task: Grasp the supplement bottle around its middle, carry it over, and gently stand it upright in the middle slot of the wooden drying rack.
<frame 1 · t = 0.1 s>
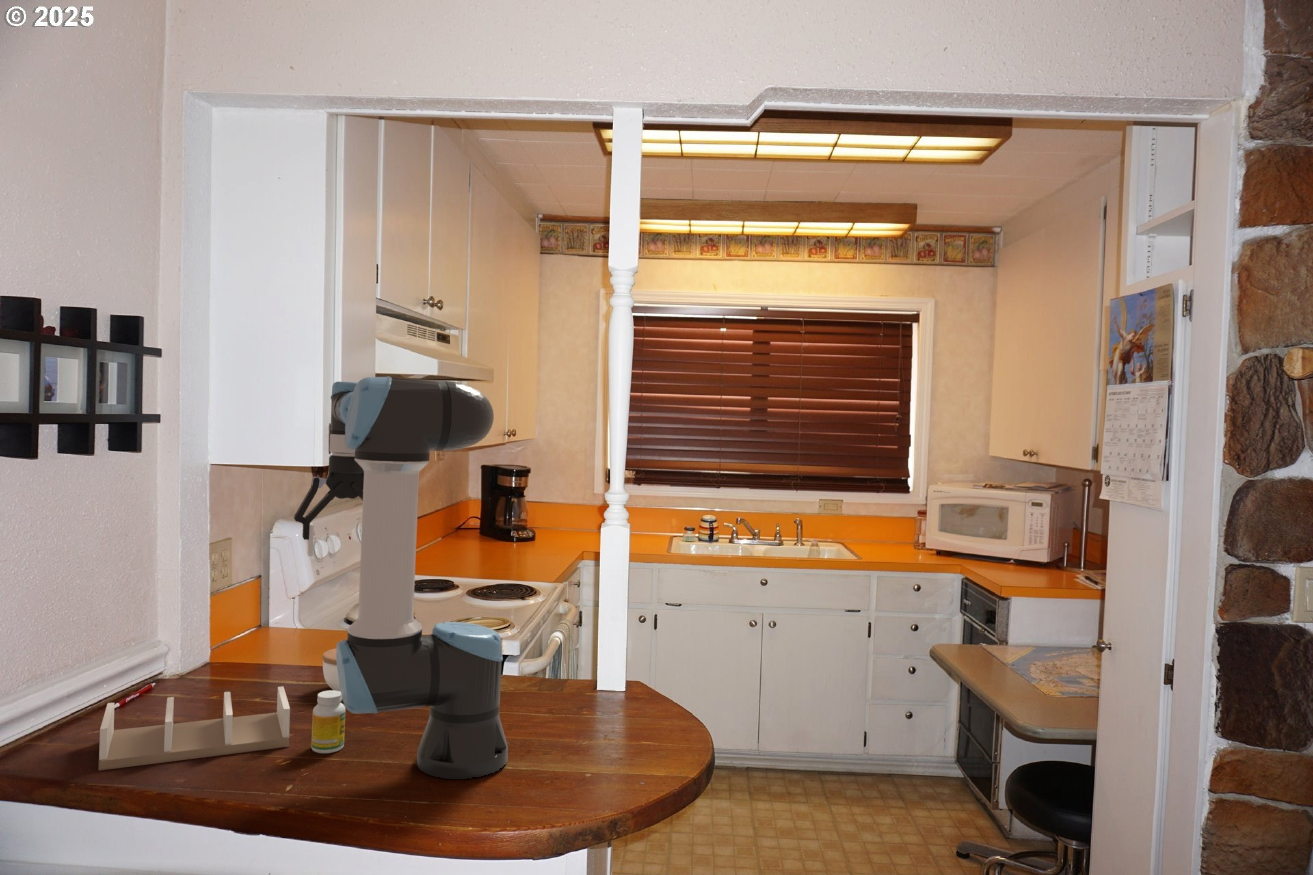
hand: (344, 554, 184), 28 cm above the breakfast bar, fingers open, 13 cm apart
lidded jar: (348, 690, 182), on the breakfast bar
supplement bottle: (327, 749, 151), on the breakfast bar
rack: (198, 742, 150), on the breakfast bar
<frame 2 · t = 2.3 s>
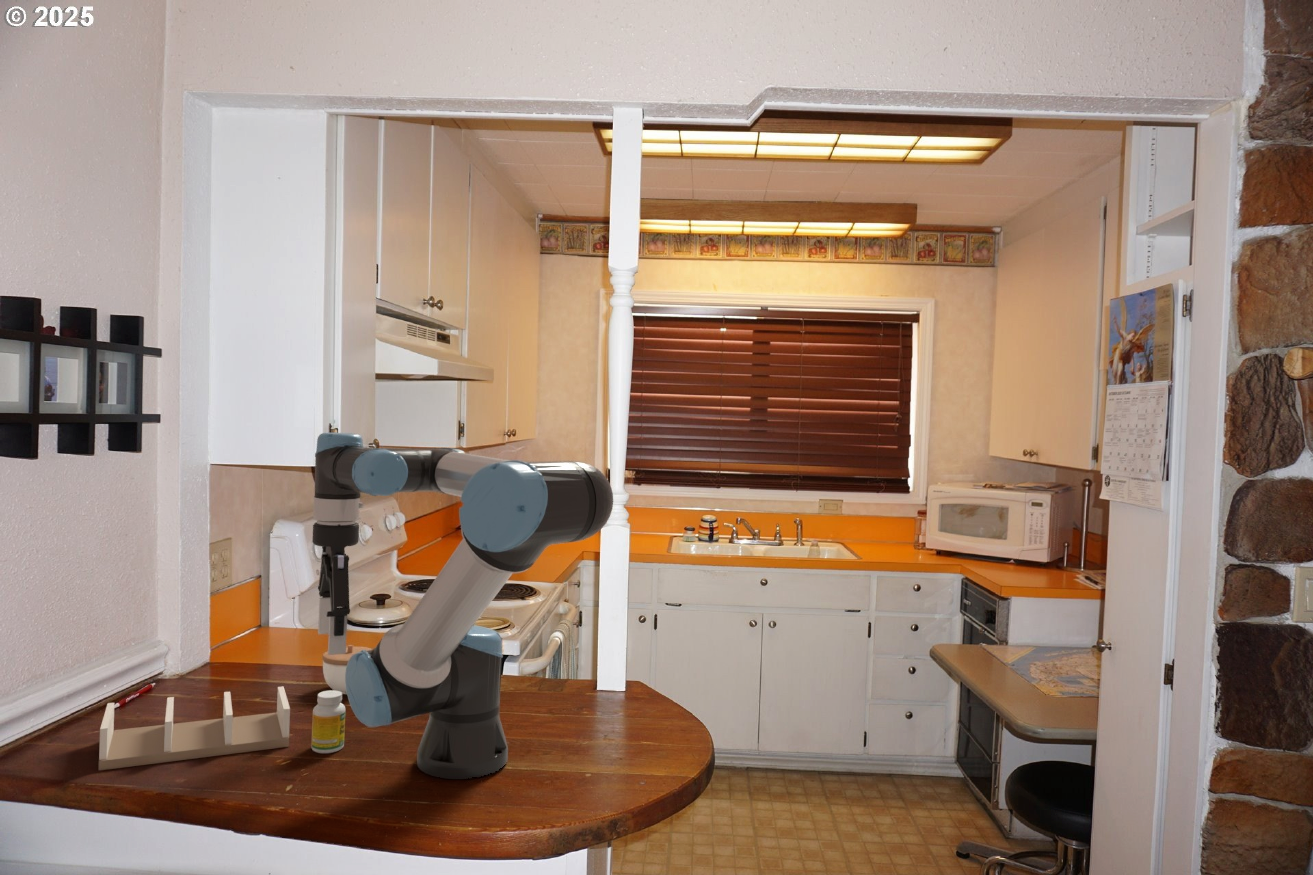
hand: (331, 643, 151), 18 cm above the breakfast bar, fingers open, 13 cm apart
nothing on the breakfast bar moved.
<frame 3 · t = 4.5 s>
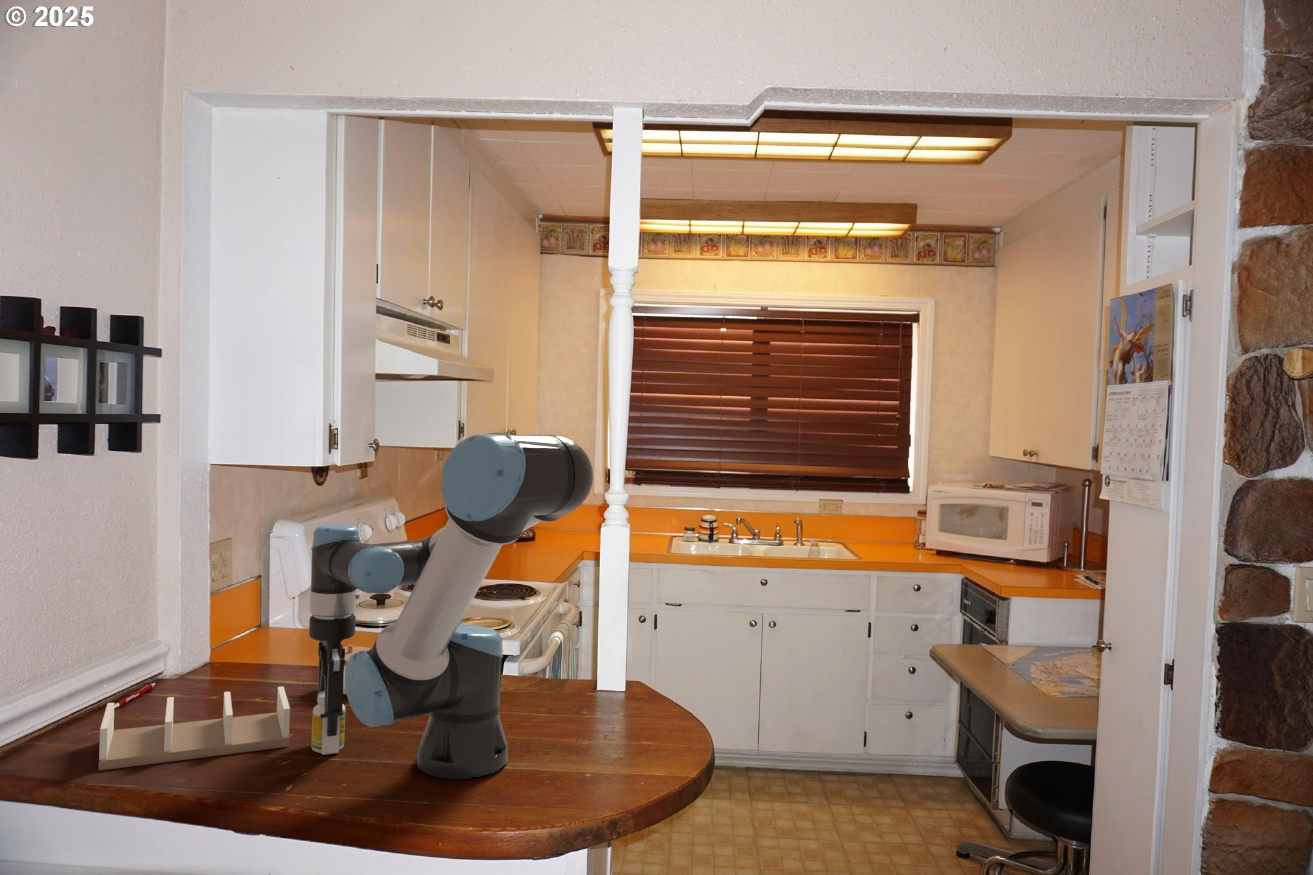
hand: (327, 746, 151), 0 cm above the breakfast bar, fingers closed on supplement bottle, 5 cm apart
supplement bottle: (327, 749, 151), on the breakfast bar, touching gripper
everything else where it was.
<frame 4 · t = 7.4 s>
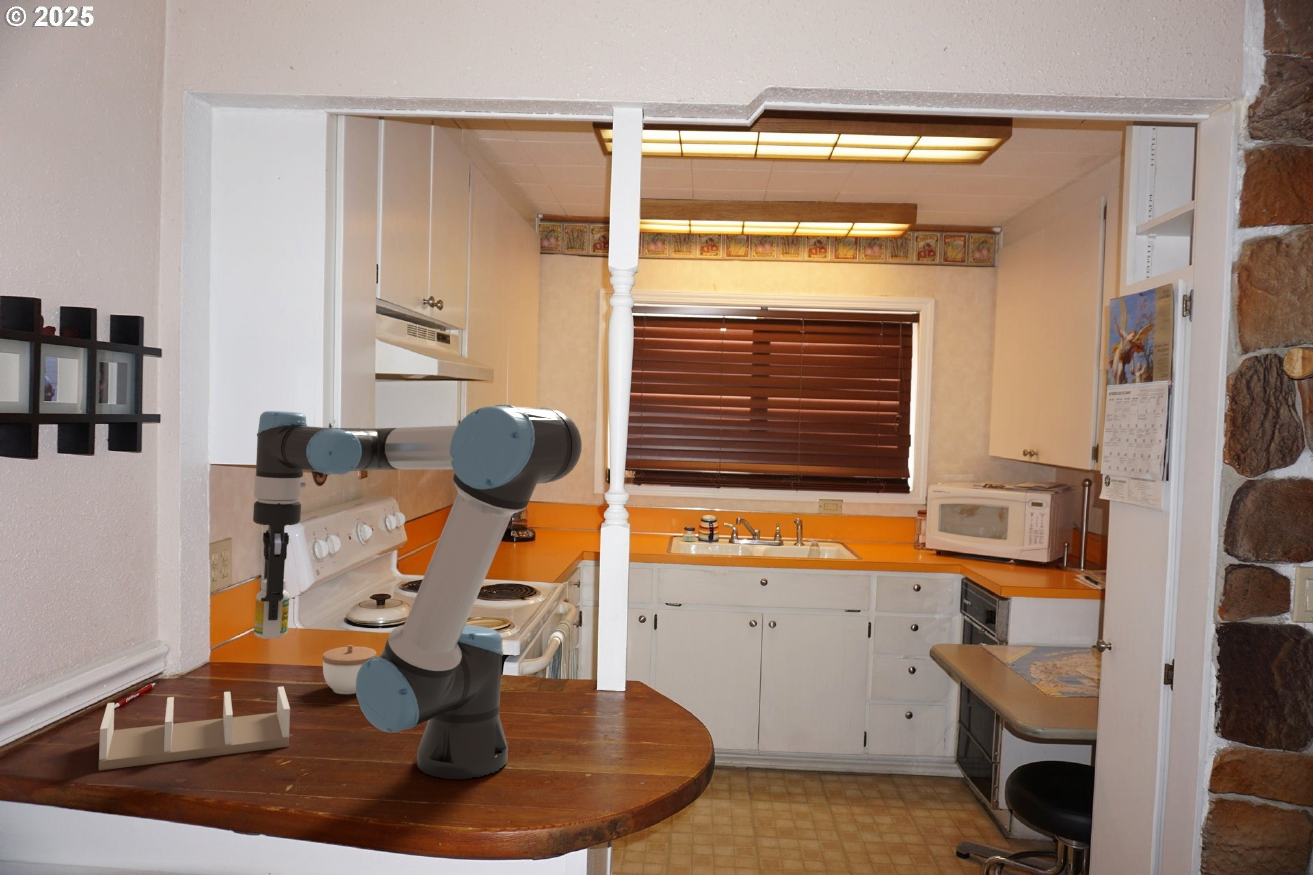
hand: (270, 632, 151), 20 cm above the breakfast bar, fingers closed on supplement bottle, 5 cm apart
supplement bottle: (270, 635, 151), point 19 cm above the breakfast bar, touching gripper
everything else where it was.
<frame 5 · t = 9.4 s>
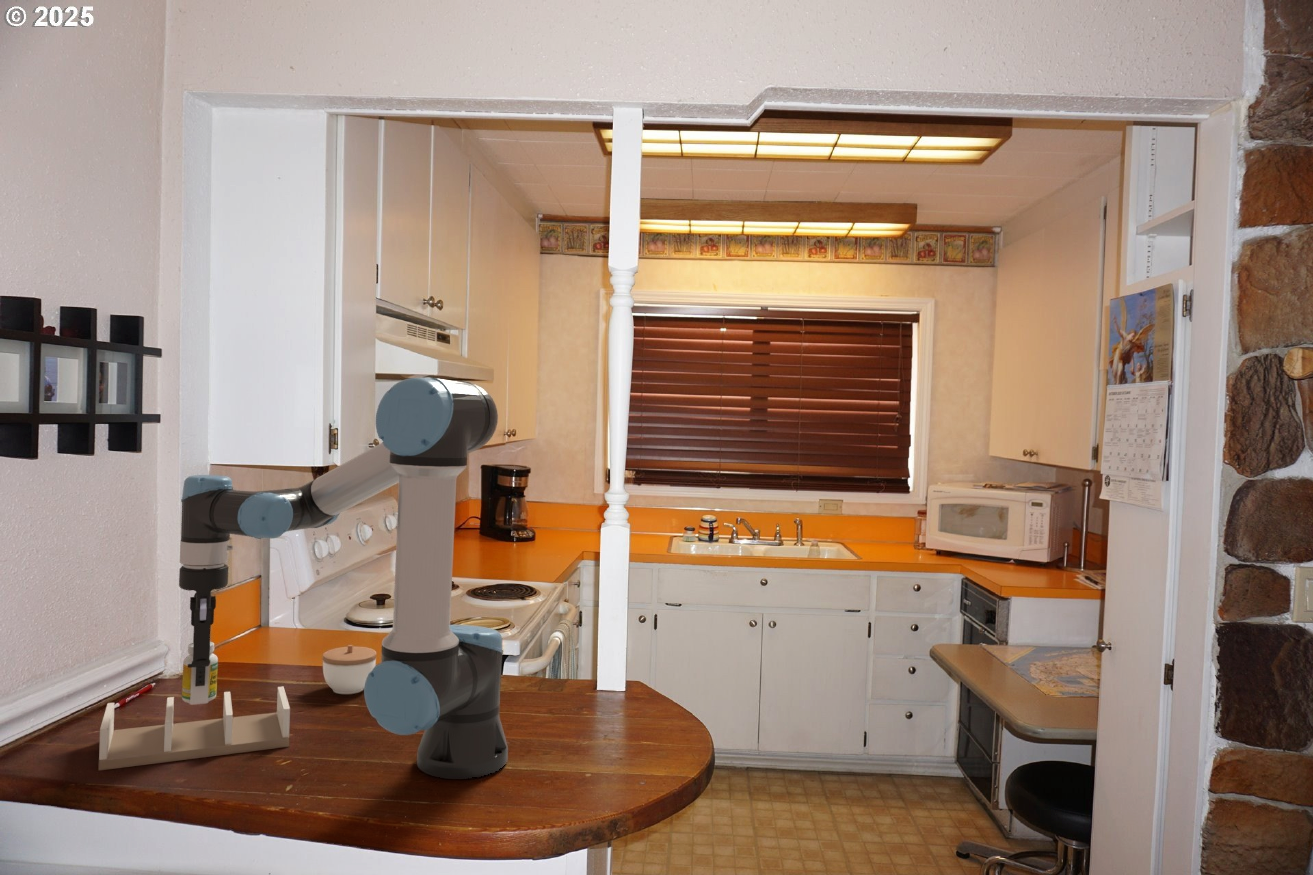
hand: (199, 697, 150), 8 cm above the breakfast bar, fingers closed on supplement bottle, 5 cm apart
supplement bottle: (199, 700, 150), point 8 cm above the breakfast bar, touching gripper
everything else where it was.
when the fingers open (3 cm above the breakfast bar, at t = 10.7 s): supplement bottle drops 1 cm, resting on rack.
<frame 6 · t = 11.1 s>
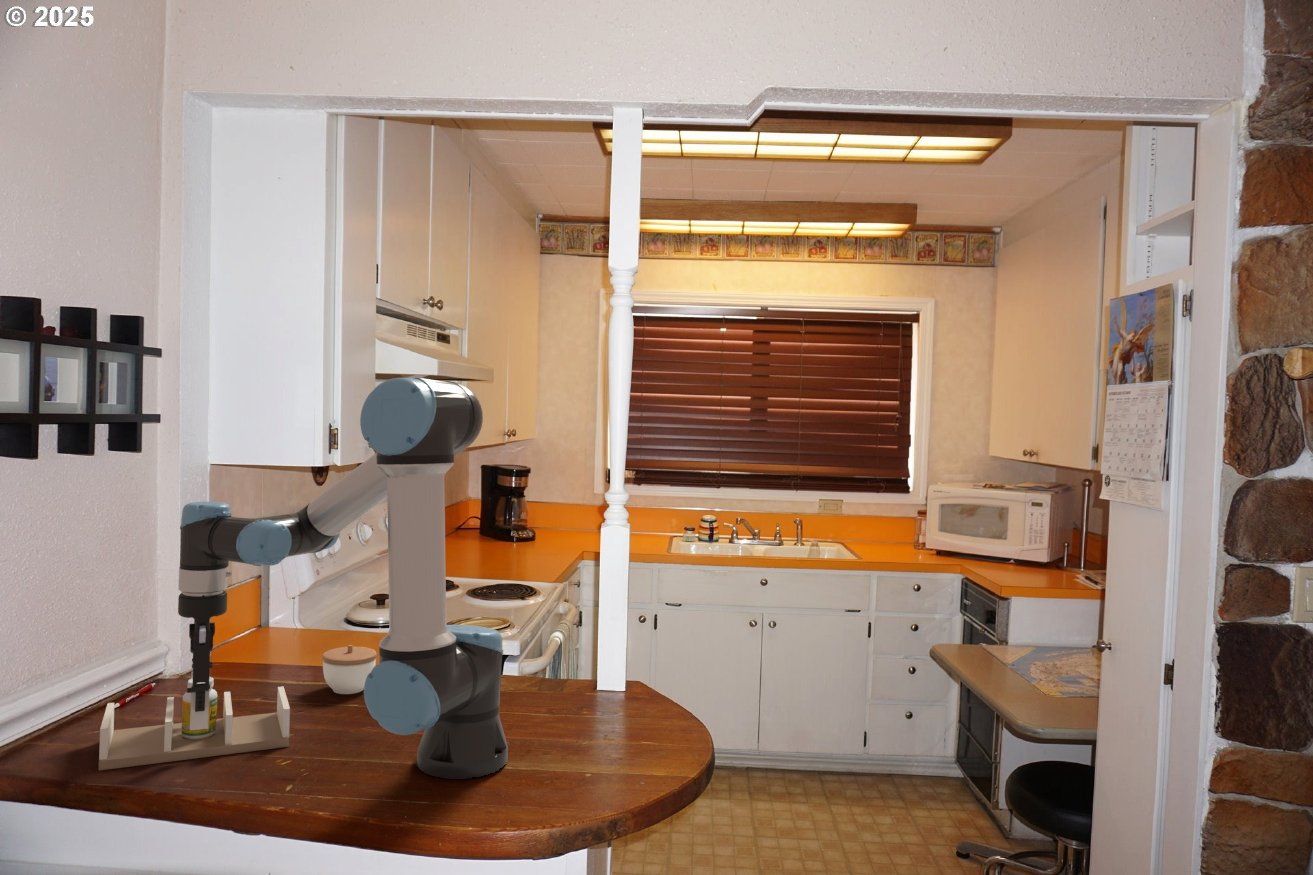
hand: (198, 717, 150), 4 cm above the breakfast bar, fingers open, 11 cm apart
supplement bottle: (198, 735, 150), point 1 cm above the breakfast bar, touching rack
everything else where it was.
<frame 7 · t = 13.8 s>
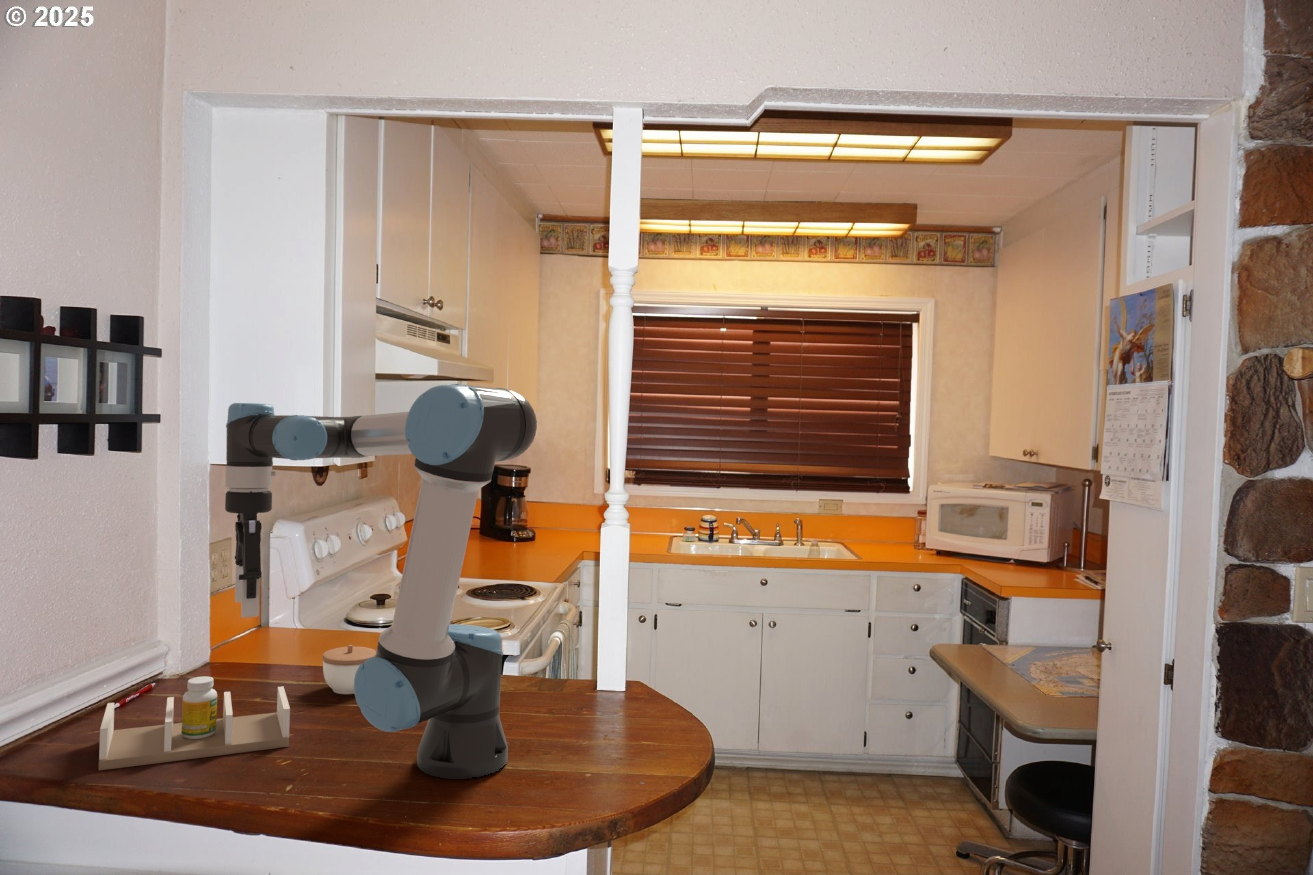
hand: (246, 608, 154), 23 cm above the breakfast bar, fingers open, 13 cm apart
nothing on the breakfast bar moved.
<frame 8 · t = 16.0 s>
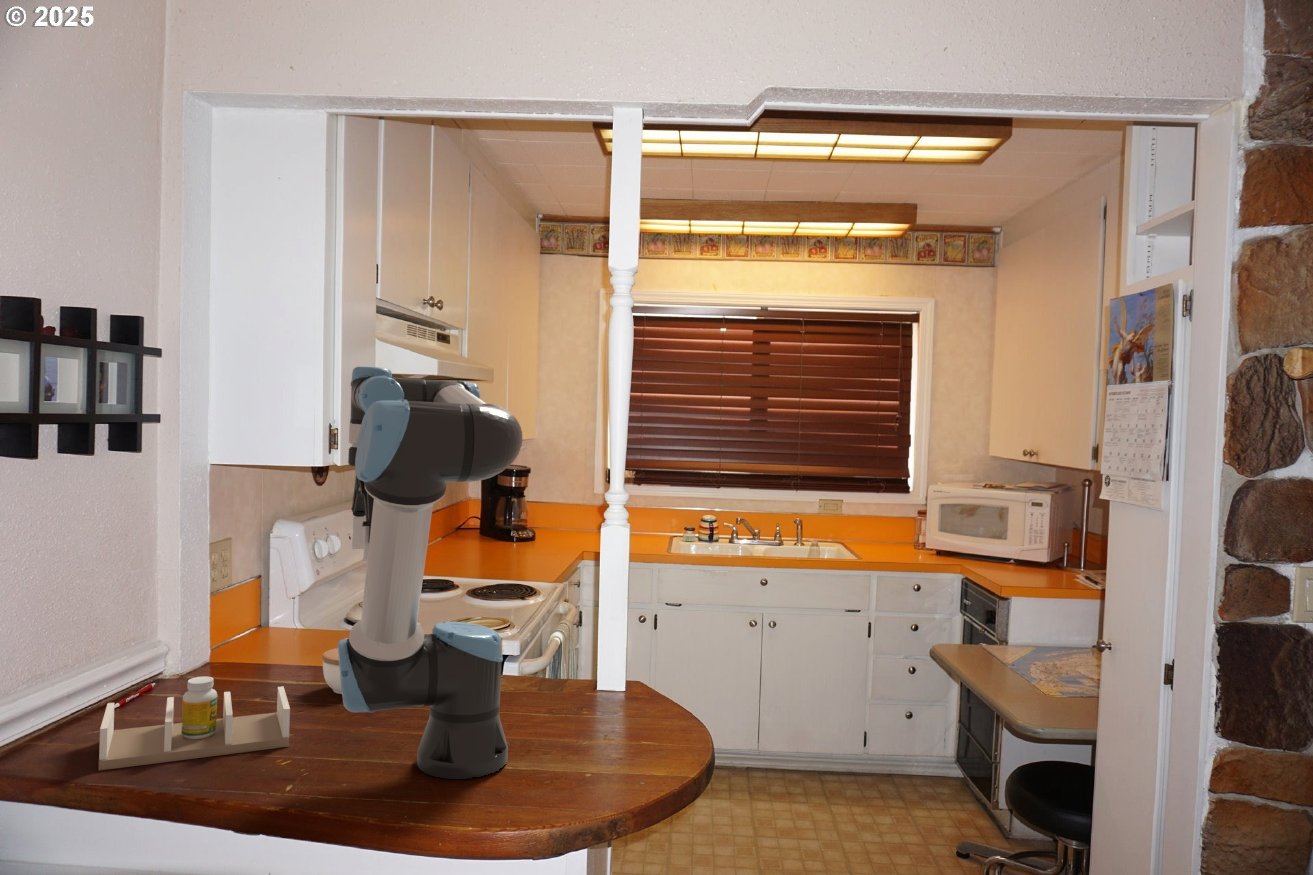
hand: (364, 554, 170), 31 cm above the breakfast bar, fingers open, 13 cm apart
nothing on the breakfast bar moved.
at the end: supplement bottle 0.1 cm off-centre on the rack, point 1.3 cm above the rack's base; supplement bottle tilted 0°; the gripper is holding nothing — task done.
